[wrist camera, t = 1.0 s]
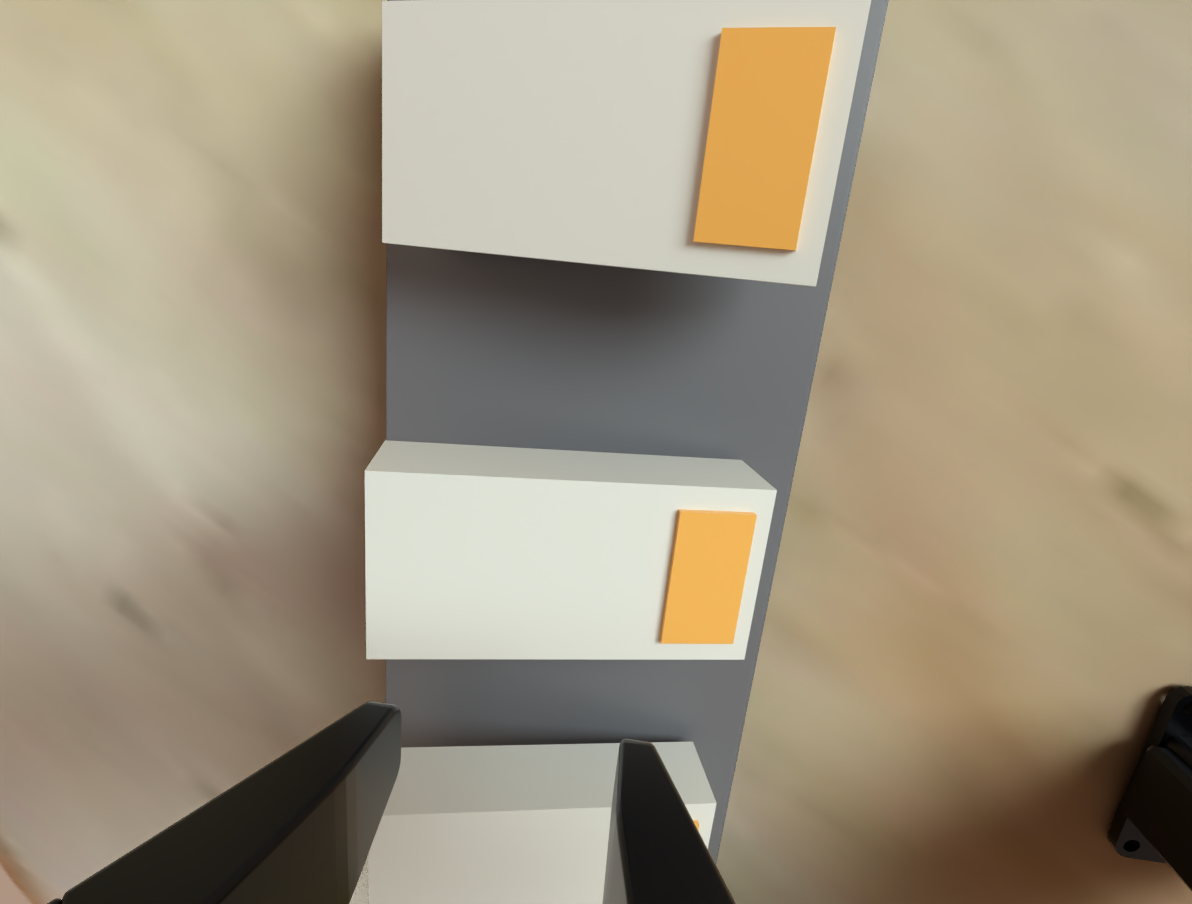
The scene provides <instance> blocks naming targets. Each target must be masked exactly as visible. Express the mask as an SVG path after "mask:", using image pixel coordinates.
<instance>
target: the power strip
mask: <svg viewBox="0 0 1192 904" xmlns="http://www.w3.org/2000/svg"><path fill="white" fill-rule="evenodd" d="M387 1H404V0H387ZM888 1H889V0H871V5H870V10H869V15H868V20H867V25H866V31H865V36H864V41H863V46H862V51H861V56H860V62H859V67H858V72H857V77H856V82H855V88H854V93H853V98H852V103H851V108H850V113H849V119H848V124H847V129H846V134H845V139H844V145H843V150H842V155H841V160H840V165H839V170H838V176H837V181H836V186H835V191H834V196H833V201H832V207H831V212H830V217H829V222H828V227H827V233H826V238H825V243H824V248H823V253H822V258H821V264H820V269H819V274H818V279H817V284H816V287H810V286H800V285H791V284H781V283H771V282H761V281H751V280H741V279H731V278H721V277H712V276H702V275H692V274H682V273H672V272H662V271H652V270H642V269H633V268H623V267H613V266H603V265H593V264H583V263H573V262H563V261H554V260H544V259H534V258H524V257H514V256H504V255H494V254H485V253H475V252H465V251H455V250H445V249H435V248H426V247H417V246H408V245H399V244H390V243H387V333H386V440H389V441H407V442H425V443H443V444H462V445H480V446H498V447H516V448H534V449H552V450H571V451H589V452H607V453H625V454H643V455H662V456H680V457H698V458H716V459H734V460H742V461H744V462H745V463H746V464H747V465H748V466H749V467H751V468H752V469H753V470H754V471H755V472H756V473H758V474H759V475H760V476H761V477H762V478H763V479H765V480H766V481H767V482H768V483H769V484H770V485H772V486H773V487H774V488H775V489H776V490H777V493H776V498H775V504H774V509H773V514H772V519H771V524H770V529H769V535H768V540H767V545H766V550H765V555H764V560H763V566H762V571H761V576H760V581H759V586H758V591H757V597H756V602H755V607H754V612H753V617H752V623H751V628H750V633H749V638H748V643H747V648H746V654H745V659H744V660H586V659H386V703H387V704H394V705H397V706H398V707H399V708H400V711H401V748H405V747H453V746H502V745H550V744H598V743H620V742H621V741H622V740H623V739H633V740H639V741H646V742H693V743H694V746H695V748H696V751H697V754H698V756H699V759H700V761H701V764H702V767H703V769H704V772H705V774H706V777H707V780H708V782H709V785H710V787H711V790H712V793H713V795H714V798H715V800H716V803H717V804H716V809H715V814H714V819H713V824H712V830H711V835H710V840H709V845H708V851H709V853H710V855H711V857H712V859H713V861H714V863H715V865H716V861H717V856H718V851H719V846H720V841H721V836H722V831H723V826H724V821H725V816H726V811H727V806H728V801H729V796H730V791H731V786H732V781H733V776H734V771H735V766H736V761H737V756H738V751H739V746H740V741H741V736H742V731H743V726H744V721H745V716H746V711H747V706H748V701H749V696H750V691H751V686H752V681H753V676H754V671H755V666H756V661H757V656H758V651H759V646H760V641H761V636H762V631H763V626H764V621H765V616H766V611H767V606H768V601H769V596H770V591H771V586H772V581H773V576H774V571H775V566H776V561H777V556H778V551H779V546H780V541H781V536H782V531H783V526H784V521H785V516H786V511H787V506H788V501H789V496H790V491H791V486H792V481H793V476H794V471H795V466H796V461H797V456H798V451H799V446H800V441H801V436H802V431H803V426H804V421H805V416H806V411H807V406H808V401H809V396H810V391H811V386H812V381H813V376H814V371H815V366H816V361H817V356H818V351H819V346H820V341H821V336H822V331H823V326H824V321H825V316H826V311H827V306H828V301H829V296H830V291H831V286H832V281H833V276H834V271H835V266H836V261H837V256H838V251H839V246H840V241H841V236H842V231H843V226H844V221H845V216H846V211H847V206H848V201H849V196H850V191H851V186H852V181H853V176H854V171H855V166H856V161H857V156H858V151H859V146H860V141H861V136H862V131H863V126H864V121H865V116H866V111H867V106H868V101H869V96H870V91H871V86H872V81H873V76H874V71H875V66H876V61H877V56H878V51H879V46H880V41H881V36H882V31H883V26H884V21H885V16H886V11H887V6H888Z"/></svg>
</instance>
